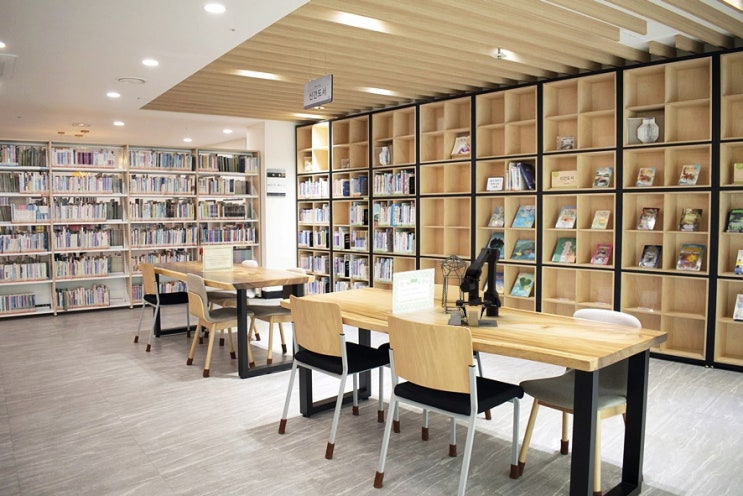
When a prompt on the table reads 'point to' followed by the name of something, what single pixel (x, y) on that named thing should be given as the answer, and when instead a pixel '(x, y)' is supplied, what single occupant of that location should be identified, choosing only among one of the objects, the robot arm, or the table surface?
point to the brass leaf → (472, 318)
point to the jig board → (480, 323)
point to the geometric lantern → (453, 278)
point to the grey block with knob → (456, 317)
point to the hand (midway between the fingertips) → (473, 319)
